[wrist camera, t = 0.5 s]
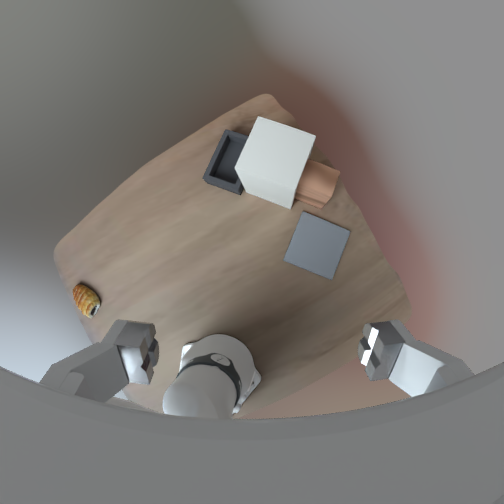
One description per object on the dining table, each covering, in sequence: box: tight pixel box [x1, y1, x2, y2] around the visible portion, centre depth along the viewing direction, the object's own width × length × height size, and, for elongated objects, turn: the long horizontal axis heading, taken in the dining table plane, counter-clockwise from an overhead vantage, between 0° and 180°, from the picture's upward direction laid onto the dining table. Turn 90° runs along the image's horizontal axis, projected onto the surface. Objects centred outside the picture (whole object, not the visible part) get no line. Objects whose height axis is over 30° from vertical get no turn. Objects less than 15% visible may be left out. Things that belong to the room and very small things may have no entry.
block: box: [294, 159, 340, 209], centre depth 51 cm, size 5×10×12 cm, turn 68°
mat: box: [283, 211, 350, 280], centre depth 56 cm, size 11×11×1 cm
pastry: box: [73, 284, 100, 318], centre depth 59 cm, size 9×7×4 cm
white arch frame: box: [235, 116, 316, 209], centre depth 49 cm, size 10×10×16 cm
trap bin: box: [203, 129, 249, 195], centre depth 56 cm, size 12×8×4 cm, turn 158°
